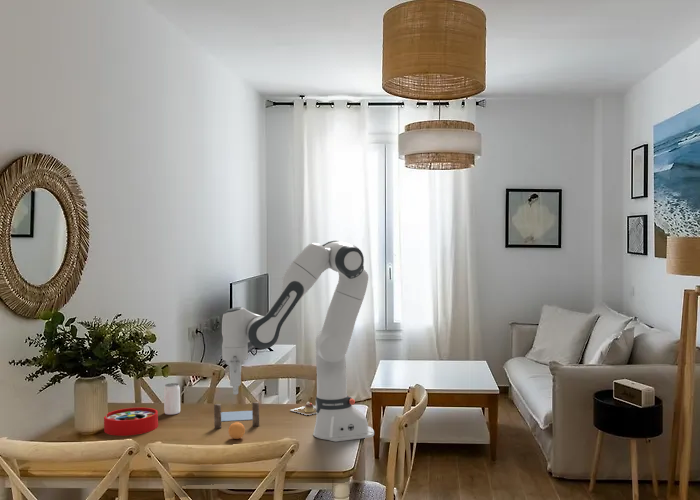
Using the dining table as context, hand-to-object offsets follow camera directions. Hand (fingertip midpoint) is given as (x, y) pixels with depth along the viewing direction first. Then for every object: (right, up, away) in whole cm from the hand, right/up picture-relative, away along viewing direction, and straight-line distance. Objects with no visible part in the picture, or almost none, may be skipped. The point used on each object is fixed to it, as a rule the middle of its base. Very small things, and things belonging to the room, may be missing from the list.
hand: (235, 393), depth 238 cm
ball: (-2, -16, +11) cm, 19 cm away
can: (-35, -19, +49) cm, 63 cm away
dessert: (+23, -19, +50) cm, 58 cm away
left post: (-11, -19, +26) cm, 34 cm away
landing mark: (-7, -18, +43) cm, 47 cm away
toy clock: (-45, -20, +27) cm, 56 cm away
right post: (+3, -19, +28) cm, 34 cm away
